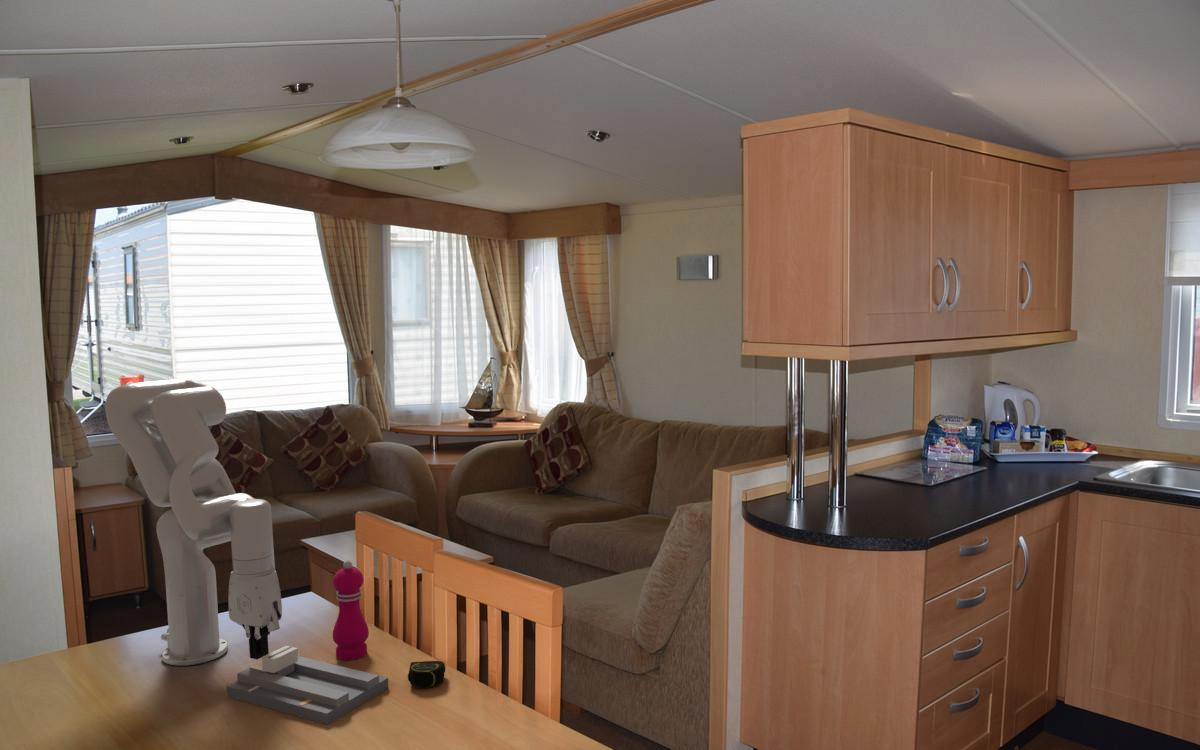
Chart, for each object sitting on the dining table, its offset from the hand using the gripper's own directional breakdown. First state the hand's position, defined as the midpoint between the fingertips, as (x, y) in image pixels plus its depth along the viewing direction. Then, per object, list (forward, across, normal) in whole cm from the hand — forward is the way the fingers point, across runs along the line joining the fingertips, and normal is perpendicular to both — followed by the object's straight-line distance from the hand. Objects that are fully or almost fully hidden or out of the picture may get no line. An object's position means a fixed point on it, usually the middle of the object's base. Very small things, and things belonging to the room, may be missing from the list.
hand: (259, 656), depth 177 cm
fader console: (+5, +12, 0) cm, 13 cm away
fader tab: (+3, +6, 0) cm, 6 cm away
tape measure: (+6, +30, +13) cm, 33 cm away
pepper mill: (+5, +8, +17) cm, 19 cm away
